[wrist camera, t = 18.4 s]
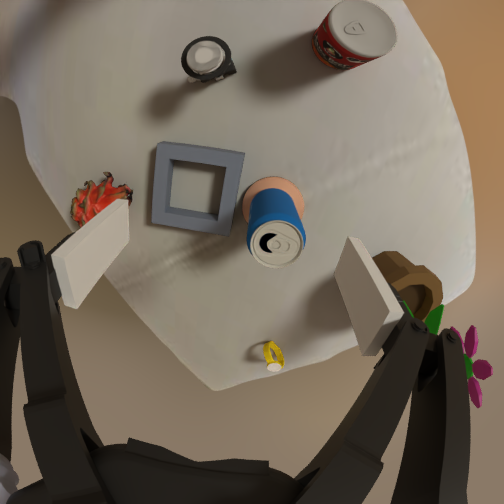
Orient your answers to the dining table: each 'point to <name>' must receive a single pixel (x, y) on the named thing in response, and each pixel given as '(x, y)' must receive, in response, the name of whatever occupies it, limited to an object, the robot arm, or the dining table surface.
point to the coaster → (273, 183)
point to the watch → (272, 364)
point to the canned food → (354, 34)
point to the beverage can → (274, 229)
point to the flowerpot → (430, 309)
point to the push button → (207, 59)
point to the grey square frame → (188, 217)
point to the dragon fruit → (97, 199)
